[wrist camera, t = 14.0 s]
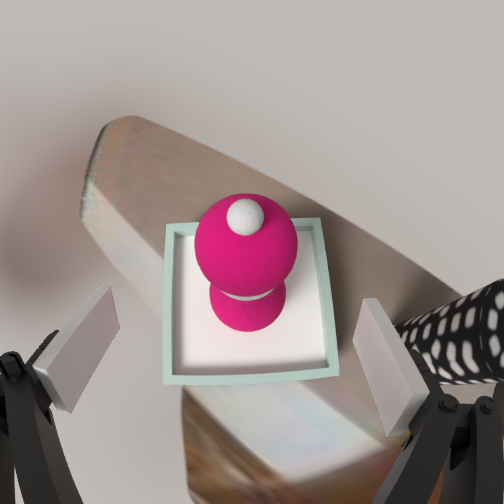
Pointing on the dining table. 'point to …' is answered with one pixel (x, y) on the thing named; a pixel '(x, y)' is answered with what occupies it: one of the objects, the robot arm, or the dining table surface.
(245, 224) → the pepper mill
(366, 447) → the dining table surface
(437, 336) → the white-spotted black cylinder
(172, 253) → the rolling base
